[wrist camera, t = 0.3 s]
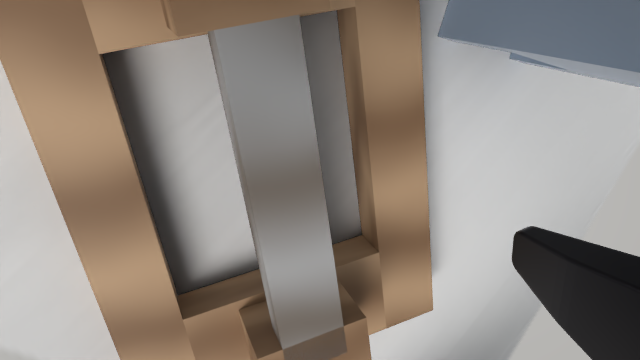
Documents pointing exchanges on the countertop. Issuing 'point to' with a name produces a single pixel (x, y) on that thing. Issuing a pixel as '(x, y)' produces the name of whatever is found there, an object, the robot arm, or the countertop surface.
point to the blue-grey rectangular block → (554, 33)
